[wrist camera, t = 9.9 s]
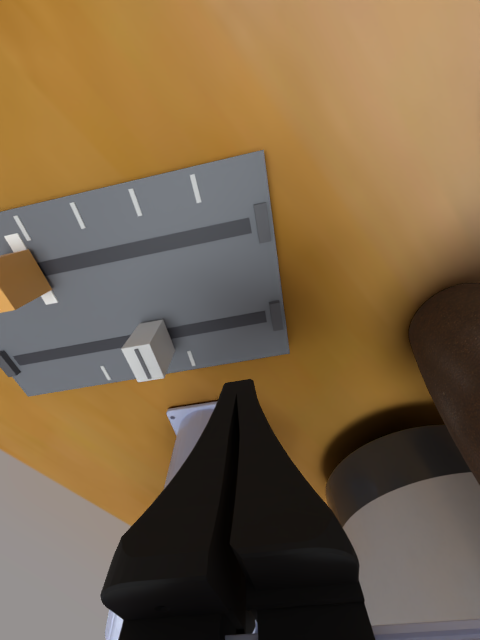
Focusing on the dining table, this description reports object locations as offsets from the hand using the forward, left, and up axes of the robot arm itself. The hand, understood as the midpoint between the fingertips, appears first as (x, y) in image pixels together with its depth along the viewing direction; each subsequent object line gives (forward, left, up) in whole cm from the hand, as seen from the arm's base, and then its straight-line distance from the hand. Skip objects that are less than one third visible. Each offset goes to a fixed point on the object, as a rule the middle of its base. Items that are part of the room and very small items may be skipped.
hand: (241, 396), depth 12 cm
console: (+3, +9, -10) cm, 14 cm away
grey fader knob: (-1, +7, -9) cm, 11 cm away
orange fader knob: (+6, +14, -9) cm, 18 cm away
